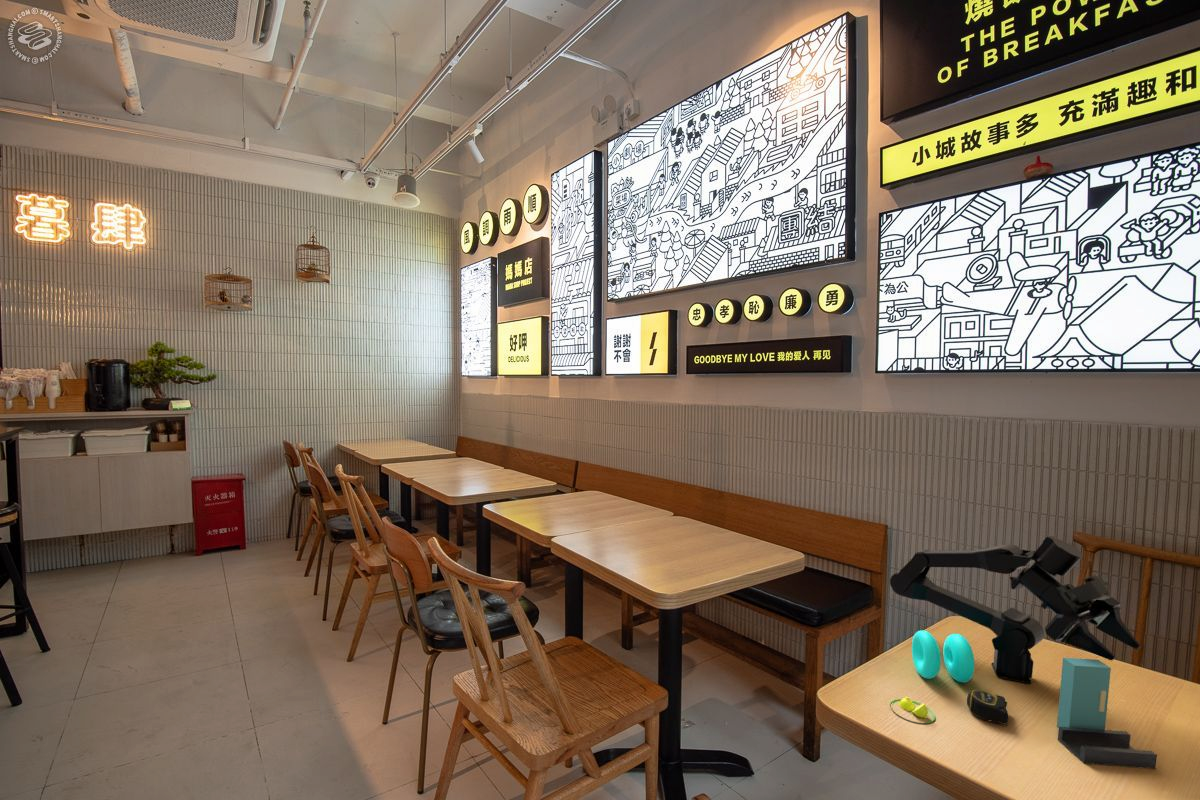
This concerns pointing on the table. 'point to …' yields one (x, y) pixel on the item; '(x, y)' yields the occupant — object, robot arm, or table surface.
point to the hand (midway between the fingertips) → (1126, 653)
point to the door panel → (1083, 694)
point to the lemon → (918, 711)
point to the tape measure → (988, 706)
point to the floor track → (1105, 747)
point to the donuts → (954, 654)
